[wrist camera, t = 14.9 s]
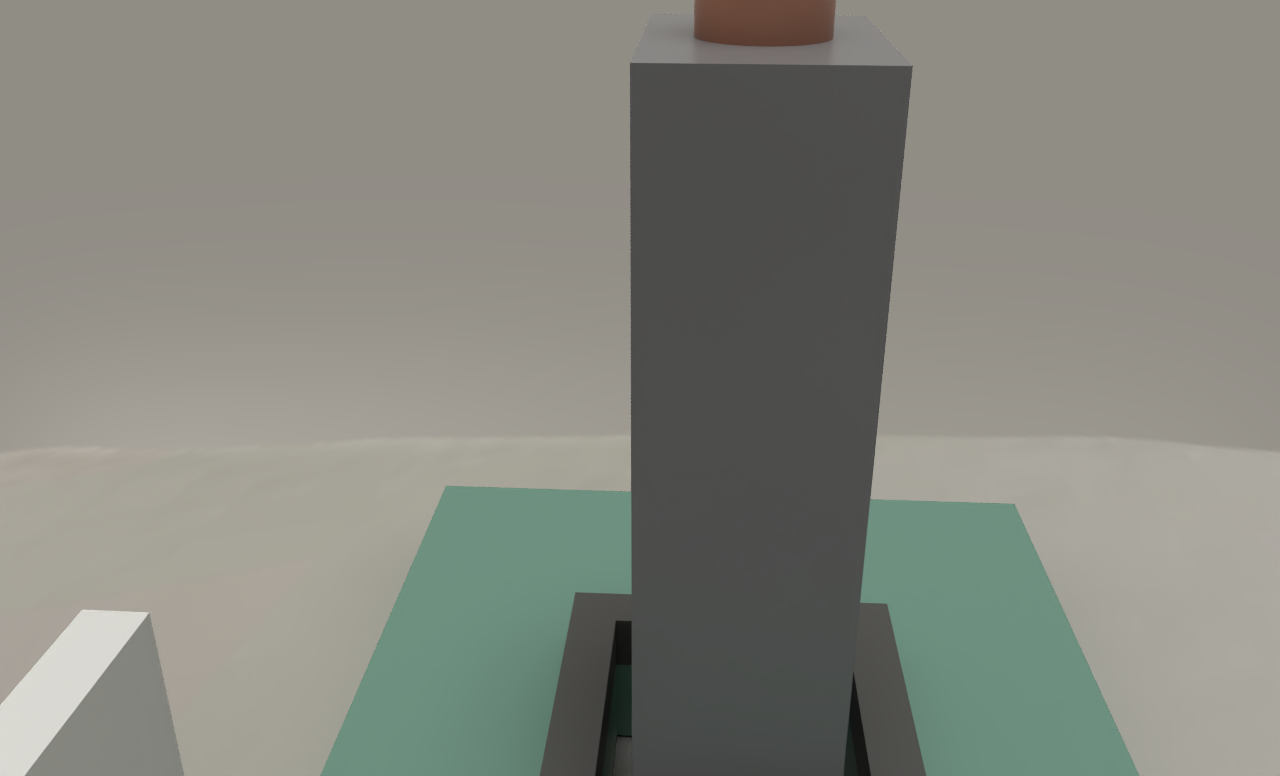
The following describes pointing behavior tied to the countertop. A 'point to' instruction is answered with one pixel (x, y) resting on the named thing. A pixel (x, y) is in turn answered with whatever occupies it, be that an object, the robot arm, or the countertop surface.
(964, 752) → the board
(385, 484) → the countertop surface
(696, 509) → the plug
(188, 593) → the countertop surface
